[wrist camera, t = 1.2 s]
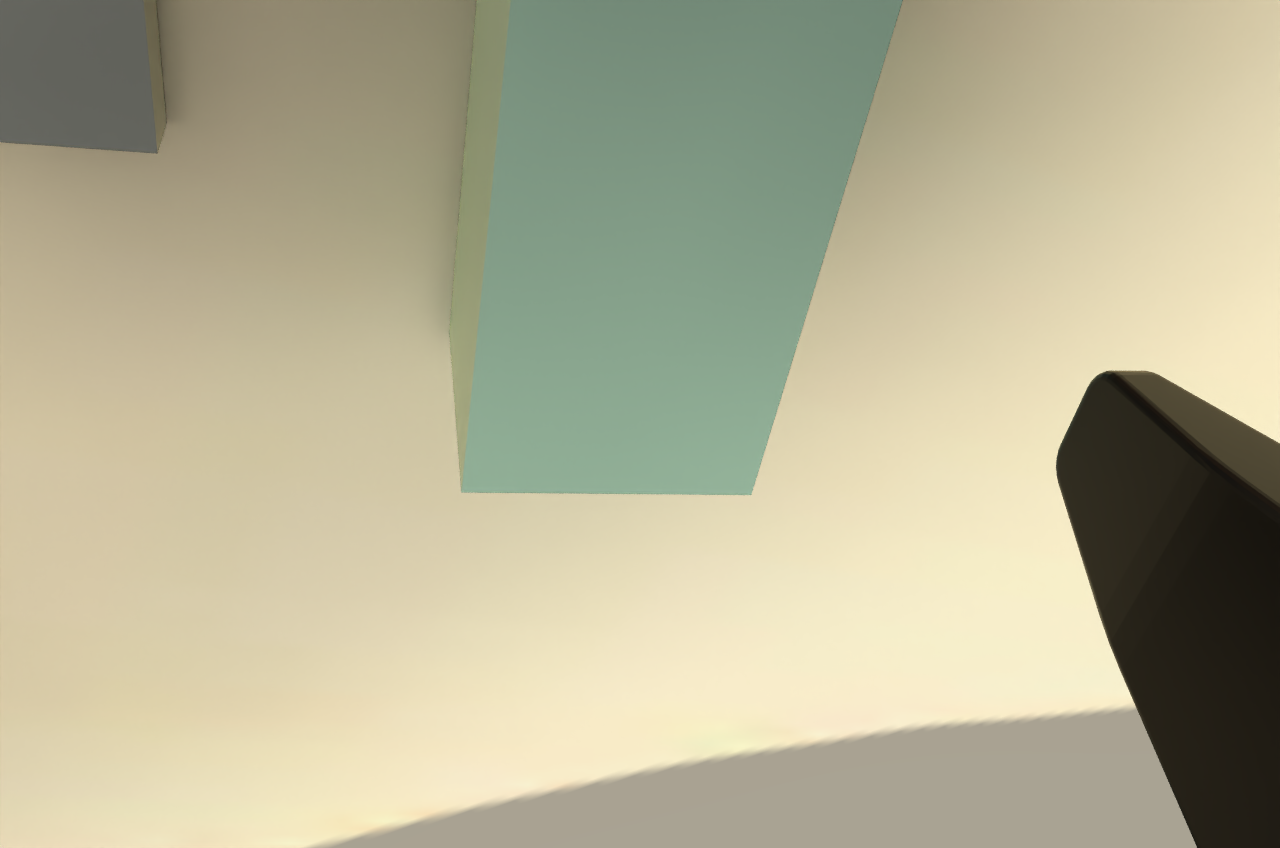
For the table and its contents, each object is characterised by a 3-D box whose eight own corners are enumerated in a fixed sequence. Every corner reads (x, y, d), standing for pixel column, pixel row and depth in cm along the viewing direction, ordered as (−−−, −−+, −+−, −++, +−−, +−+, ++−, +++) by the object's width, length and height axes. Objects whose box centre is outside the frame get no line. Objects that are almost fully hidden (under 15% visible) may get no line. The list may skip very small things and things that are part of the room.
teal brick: (696, 336, 23) (751, 494, 20) (448, 326, 22) (461, 492, 19) (826, -201, 17) (935, -105, 14) (495, -252, 16) (526, -161, 13)
